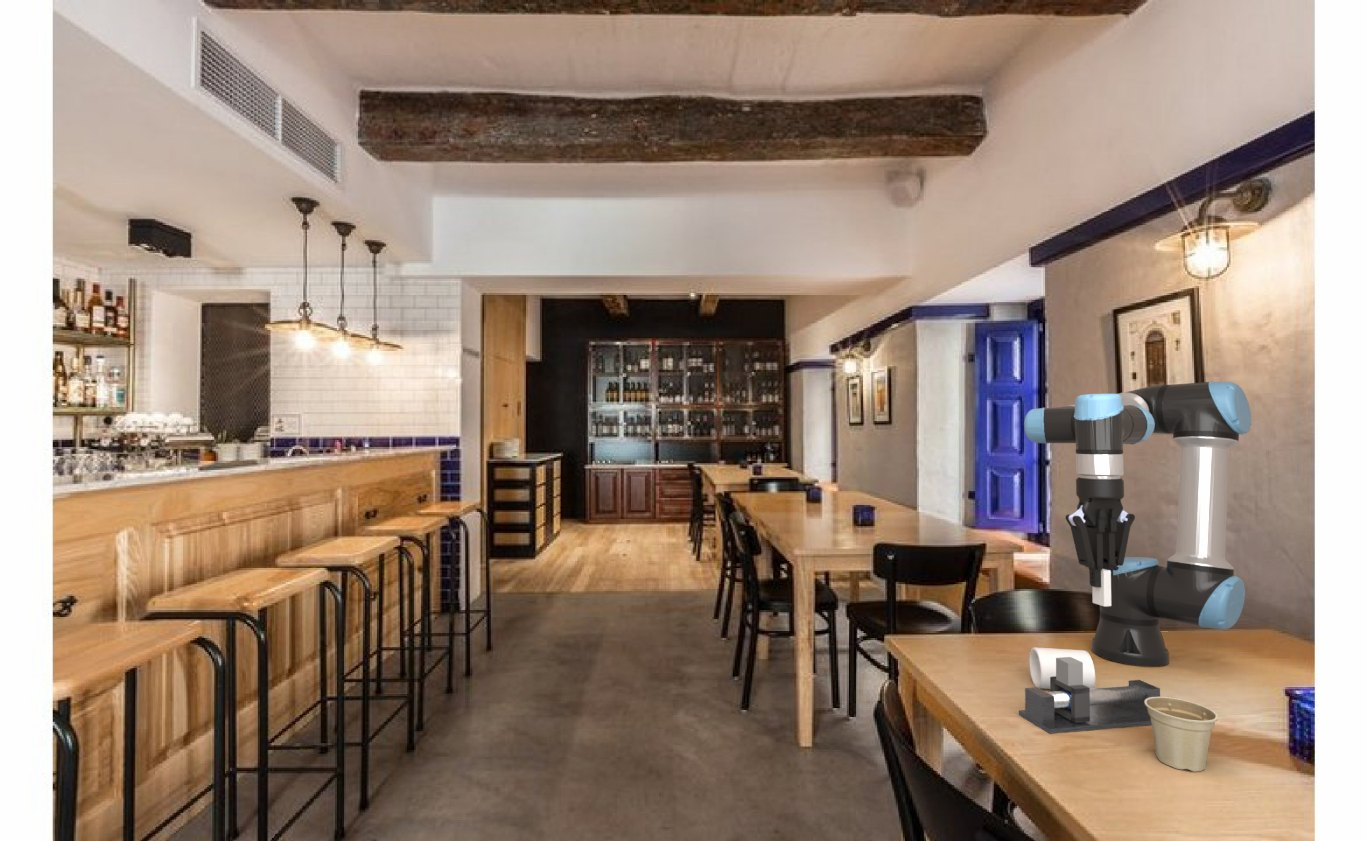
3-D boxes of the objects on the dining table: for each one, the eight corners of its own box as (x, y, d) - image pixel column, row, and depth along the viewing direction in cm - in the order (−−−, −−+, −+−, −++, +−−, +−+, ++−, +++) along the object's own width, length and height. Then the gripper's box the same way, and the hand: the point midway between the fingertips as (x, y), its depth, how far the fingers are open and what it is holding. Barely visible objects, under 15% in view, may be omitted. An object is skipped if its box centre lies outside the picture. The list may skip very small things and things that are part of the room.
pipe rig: (1131, 705, 127) (1131, 676, 127) (1169, 723, 119) (1168, 691, 119) (1018, 714, 122) (1018, 683, 122) (1049, 733, 114) (1049, 700, 115)
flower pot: (1220, 761, 105) (1220, 707, 105) (1217, 784, 98) (1216, 726, 98) (1149, 743, 111) (1148, 691, 111) (1140, 763, 104) (1140, 708, 104)
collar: (1064, 708, 123) (1064, 654, 123) (1089, 721, 117) (1089, 665, 117) (1050, 709, 122) (1050, 655, 123) (1075, 722, 116) (1074, 666, 117)
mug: (1096, 698, 130) (1095, 657, 131) (1041, 694, 132) (1041, 654, 133) (1073, 676, 142) (1072, 639, 142) (1023, 673, 144) (1022, 636, 144)
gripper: (1113, 474, 127) (1115, 597, 126) (1053, 476, 125) (1055, 601, 124) (1147, 477, 119) (1149, 607, 119) (1084, 479, 117) (1086, 611, 117)
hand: (1101, 604), depth 122 cm, fingers closed
